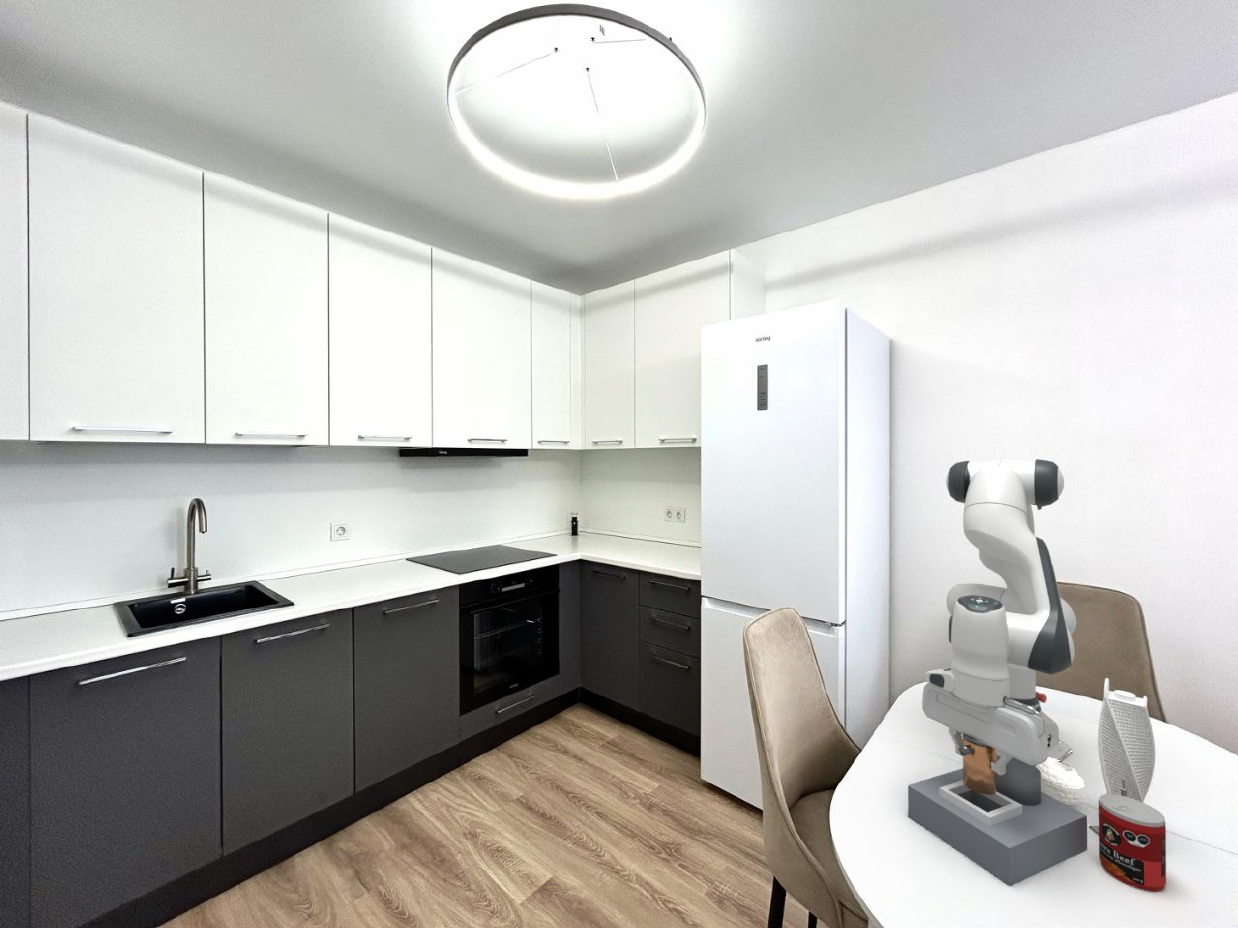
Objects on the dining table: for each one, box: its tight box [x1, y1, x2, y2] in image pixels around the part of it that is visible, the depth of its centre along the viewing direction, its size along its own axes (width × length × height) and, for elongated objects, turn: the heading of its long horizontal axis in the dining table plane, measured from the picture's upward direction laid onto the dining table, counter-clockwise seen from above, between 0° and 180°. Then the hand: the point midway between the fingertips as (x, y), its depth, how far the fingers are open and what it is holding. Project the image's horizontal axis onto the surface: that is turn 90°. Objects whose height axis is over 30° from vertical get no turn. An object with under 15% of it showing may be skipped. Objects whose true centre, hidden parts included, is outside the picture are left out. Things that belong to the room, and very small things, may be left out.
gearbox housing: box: [907, 754, 1088, 887], centre depth 95 cm, size 22×18×11 cm
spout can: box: [959, 733, 996, 795], centre depth 93 cm, size 7×5×9 cm
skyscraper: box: [1088, 677, 1156, 836], centre depth 94 cm, size 8×8×28 cm
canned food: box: [1098, 793, 1167, 892], centre depth 85 cm, size 8×8×11 cm
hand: (979, 763), depth 93 cm, fingers closed on spout can, 5 cm apart
